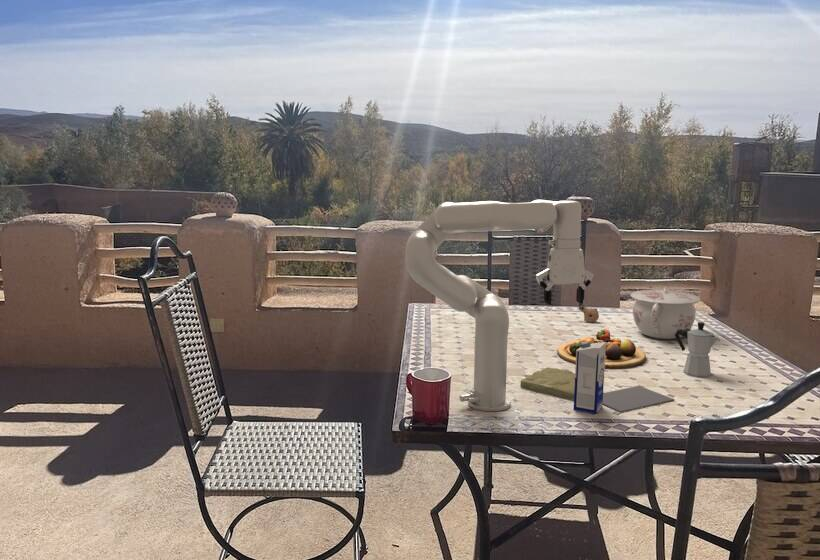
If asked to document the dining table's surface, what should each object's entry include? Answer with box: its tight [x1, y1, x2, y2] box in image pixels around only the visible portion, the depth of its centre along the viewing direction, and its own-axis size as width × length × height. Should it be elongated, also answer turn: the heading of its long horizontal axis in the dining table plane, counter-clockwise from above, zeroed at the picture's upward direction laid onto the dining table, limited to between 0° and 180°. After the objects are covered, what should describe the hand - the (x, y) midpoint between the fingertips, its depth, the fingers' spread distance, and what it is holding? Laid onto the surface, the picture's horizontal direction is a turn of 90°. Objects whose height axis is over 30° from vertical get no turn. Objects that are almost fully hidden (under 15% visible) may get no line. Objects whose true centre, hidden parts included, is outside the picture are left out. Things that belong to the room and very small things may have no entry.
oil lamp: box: [578, 304, 600, 324], centre depth 302 cm, size 9×4×8 cm, turn 75°
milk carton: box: [573, 342, 606, 415], centre depth 195 cm, size 7×7×20 cm
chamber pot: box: [629, 286, 701, 341], centre depth 278 cm, size 28×28×21 cm
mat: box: [602, 385, 675, 413], centre depth 205 cm, size 22×14×1 cm, turn 118°
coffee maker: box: [675, 321, 720, 378], centre depth 229 cm, size 15×9×18 cm, turn 45°
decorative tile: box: [520, 367, 575, 401], centre depth 216 cm, size 19×20×4 cm
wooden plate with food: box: [556, 328, 647, 370], centre depth 250 cm, size 32×32×8 cm
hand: (563, 302), depth 194 cm, fingers open, 9 cm apart
